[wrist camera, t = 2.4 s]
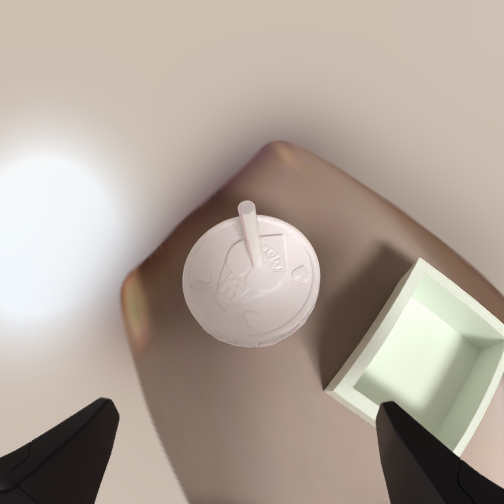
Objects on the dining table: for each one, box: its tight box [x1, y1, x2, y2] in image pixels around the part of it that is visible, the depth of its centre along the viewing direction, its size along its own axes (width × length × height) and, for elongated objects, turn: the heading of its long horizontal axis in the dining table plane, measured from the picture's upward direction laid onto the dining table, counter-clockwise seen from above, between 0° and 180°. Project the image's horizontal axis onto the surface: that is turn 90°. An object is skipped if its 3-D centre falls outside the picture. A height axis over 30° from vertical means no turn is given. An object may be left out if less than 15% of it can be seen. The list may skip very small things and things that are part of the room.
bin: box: [324, 257, 504, 457], centre depth 16 cm, size 11×11×4 cm
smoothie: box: [182, 201, 320, 348], centre depth 15 cm, size 6×6×14 cm
